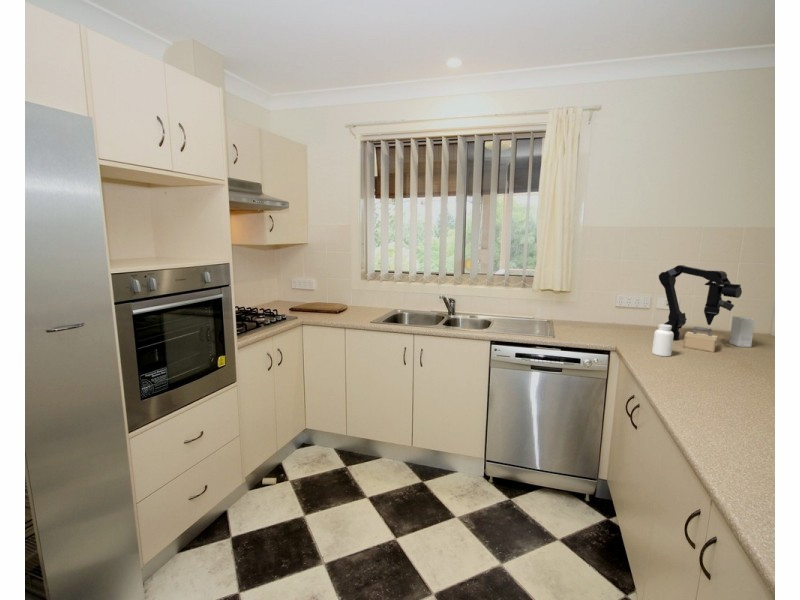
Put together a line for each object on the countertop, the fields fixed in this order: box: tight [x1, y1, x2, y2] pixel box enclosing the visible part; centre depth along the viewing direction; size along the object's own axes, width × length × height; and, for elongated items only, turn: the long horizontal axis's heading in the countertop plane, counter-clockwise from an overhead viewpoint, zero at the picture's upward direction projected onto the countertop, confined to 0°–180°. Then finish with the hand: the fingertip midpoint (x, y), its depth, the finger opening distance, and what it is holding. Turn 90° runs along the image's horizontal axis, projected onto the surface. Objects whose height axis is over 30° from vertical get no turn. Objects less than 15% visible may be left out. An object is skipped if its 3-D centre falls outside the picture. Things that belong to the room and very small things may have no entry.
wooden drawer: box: [682, 335, 718, 353], centre depth 207 cm, size 13×11×6 cm
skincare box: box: [728, 315, 756, 348], centre depth 213 cm, size 8×7×16 cm
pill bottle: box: [651, 323, 674, 357], centre depth 192 cm, size 8×8×15 cm
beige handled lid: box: [684, 326, 718, 342], centre depth 206 cm, size 13×11×4 cm
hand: (709, 323), depth 207 cm, fingers open, 9 cm apart
